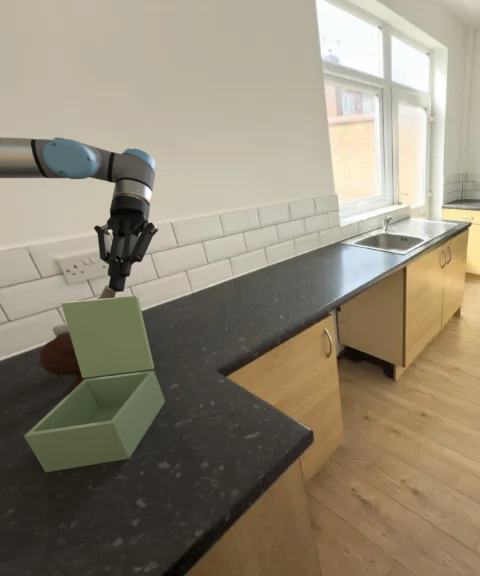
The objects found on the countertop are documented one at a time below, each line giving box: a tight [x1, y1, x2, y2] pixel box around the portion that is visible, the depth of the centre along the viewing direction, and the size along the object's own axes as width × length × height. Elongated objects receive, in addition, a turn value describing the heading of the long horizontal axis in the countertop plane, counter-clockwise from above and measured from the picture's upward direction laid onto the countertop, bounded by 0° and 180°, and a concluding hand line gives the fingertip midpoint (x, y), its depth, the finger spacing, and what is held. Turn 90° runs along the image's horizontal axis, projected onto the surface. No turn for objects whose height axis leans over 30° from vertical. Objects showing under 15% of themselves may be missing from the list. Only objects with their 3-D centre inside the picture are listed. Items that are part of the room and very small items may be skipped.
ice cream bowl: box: [37, 332, 98, 392], centre depth 78 cm, size 11×11×15 cm
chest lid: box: [61, 295, 155, 378], centre depth 68 cm, size 17×14×1 cm
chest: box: [23, 370, 166, 473], centre depth 64 cm, size 16×14×9 cm
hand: (116, 289), depth 71 cm, fingers closed
